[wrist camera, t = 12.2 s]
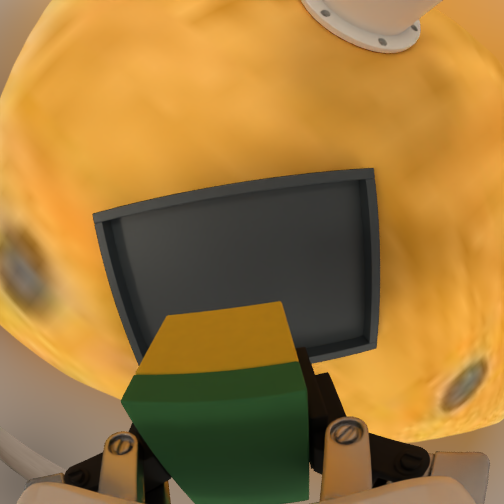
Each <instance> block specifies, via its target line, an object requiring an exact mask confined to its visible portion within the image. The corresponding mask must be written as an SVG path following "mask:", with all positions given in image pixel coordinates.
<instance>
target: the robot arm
mask: <svg viewBox="0 0 504 504" xmlns="http://www.w3.org/2000/svg"><path fill="white" fill-rule="evenodd" d="M301 1H302V3H303V5H304V6H305V8H306V9H307V11H308V12H309V13H310V14H311V15H312V16H313V18H314V19H315V20H317V21H318V22H319V23H320V24H321V25H322V26H324V27H325V28H326V29H328V30H329V31H331V32H332V33H333V34H335V35H337V36H338V37H340V38H342V39H344V40H346V41H347V42H350V43H352V44H354V45H356V46H359V47H361V48H365V49H368V50H371V51H376V52H381V53H397V52H402V51H404V50H406V49H408V48H410V47H411V46H412V45H413V44H415V43H416V41H417V40H418V38H419V36H420V31H421V30H420V21H419V18H421V17H422V16H423V15H425V14H426V13H427V12H428V11H430V10H431V9H432V8H433V7H435V6H436V5H437V4H439V3H440V2H441V1H443V0H301ZM295 350H296V353H297V357H298V360H299V363H300V367H301V370H302V374H303V377H304V381H305V384H306V388H307V393H308V421H309V462H310V465H311V469H312V468H313V469H314V471H315V472H317V473H320V474H322V483H321V493H320V502H316V503H311V504H484V501H485V495H486V489H487V484H488V475H489V467H490V462H489V458H488V457H487V455H485V454H484V453H481V452H438V451H437V452H435V454H430V453H428V452H427V451H426V450H425V449H423V448H421V447H418V446H414V445H410V444H406V443H402V442H399V441H395V440H391V439H388V438H384V437H381V436H378V435H374V434H371V433H368V428H367V425H366V424H365V422H364V421H362V420H361V419H359V418H356V417H346V414H345V412H344V409H343V407H342V404H341V402H340V399H339V397H338V394H337V392H336V389H335V387H334V384H333V382H332V380H331V377H330V375H329V373H328V372H327V373H323V374H318V375H315V374H314V371H313V368H312V365H311V362H310V359H309V356H308V353H307V350H306V348H305V347H299V348H295ZM169 479H171V476H170V474H169V473H168V472H167V471H166V469H165V468H164V467H163V465H162V464H161V463H160V461H159V460H158V459H157V457H156V456H155V455H154V453H153V452H152V450H151V449H150V448H149V446H148V445H147V443H146V442H145V440H144V439H143V437H142V436H141V434H140V433H139V431H138V430H137V428H136V427H135V425H134V424H133V423H132V425H131V428H130V430H129V432H124V431H123V432H117V433H115V434H112V435H111V436H110V437H109V438H108V439H107V440H106V442H105V445H104V451H103V453H100V454H98V455H96V456H94V457H92V458H90V459H88V460H85V461H83V462H81V463H78V464H76V465H74V466H72V467H70V468H69V469H68V470H67V471H66V473H65V475H64V474H63V473H58V474H54V475H49V476H44V477H39V478H34V479H30V480H29V481H27V482H26V484H25V487H24V492H23V494H22V495H21V497H20V498H19V500H18V502H17V503H16V504H171V503H170V493H169V484H168V480H169Z"/></svg>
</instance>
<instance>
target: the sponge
mask: <svg viewBox="0 0 504 504" xmlns="http://www.w3.org/2000/svg"><path fill="white" fill-rule="evenodd" d="M121 403H122V405H123V407H124V409H125V410H126V412H127V413H128V415H129V417H130V419H131V420H132V422H133V424H134V425H135V427H136V428H137V430H138V431H139V433H140V434H141V436H142V437H143V439H144V440H145V442H146V443H147V445H148V446H149V448H150V449H151V450H152V452H153V453H154V455H155V456H156V457H157V459H158V460H159V461H160V463H161V464H162V465H163V467H164V468H165V469H166V471H167V472H168V473H169V474H170V476H171V477H172V478H173V479H174V480H175V481H176V483H177V484H178V485H179V486H180V488H181V489H182V490H183V491H184V492H185V493H186V494H187V495H188V497H189V498H190V499H191V500H192V501H193V502H194V503H195V504H286V503H292V502H299V501H305V500H308V499H309V421H308V393H307V388H306V384H305V381H304V377H303V374H302V370H301V367H300V363H299V360H298V357H297V353H296V350H295V346H294V343H293V339H292V336H291V332H290V329H289V326H288V322H287V319H286V315H285V312H284V309H283V305H282V303H281V301H278V302H271V303H264V304H258V305H251V306H243V307H236V308H229V309H221V310H213V311H204V312H195V313H186V314H177V315H168V316H166V318H165V320H164V322H163V323H162V325H161V327H160V329H159V331H158V332H157V334H156V336H155V338H154V340H153V341H152V343H151V345H150V347H149V349H148V351H147V352H146V354H145V356H144V358H143V360H142V362H141V364H140V366H139V367H138V369H137V371H136V375H134V376H133V378H132V380H131V382H130V384H129V386H128V388H127V390H126V392H125V393H124V395H123V397H122V399H121Z"/></svg>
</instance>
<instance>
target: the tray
mask: <svg viewBox="0 0 504 504" xmlns="http://www.w3.org/2000/svg"><path fill="white" fill-rule="evenodd" d="M374 178H375V175H374V168H364V169H350V170H338V171H326V172H316V173H307V174H298V175H289V176H281V177H274V178H266V179H259V180H252V181H246V182H239V183H233V184H227V185H221V186H215V187H210V188H204V189H199V190H193V191H188V192H183V193H178V194H173V195H168V196H164V197H159V198H154V199H150V200H146V201H141V202H137V203H133V204H129V205H124V206H120V207H116V208H112V209H109V210H105V211H101V212H97V213H93V220H94V223H95V229H96V234H97V238H98V243H99V247H100V251H101V255H102V259H103V263H104V267H105V270H106V274H107V277H108V281H109V284H110V288H111V291H112V294H113V297H114V301H115V304H116V307H117V310H118V313H119V316H120V318H121V321H122V324H123V327H124V330H125V332H126V335H127V338H128V340H129V343H130V345H131V348H132V350H133V353H134V355H135V358H136V360H137V362H138V365H139V366H140V364H141V362H142V360H143V358H144V356H145V354H146V352H147V351H148V349H149V347H150V345H151V343H152V341H153V340H154V338H155V336H156V334H157V332H158V331H159V329H160V327H161V325H162V323H163V322H164V320H165V318H166V316H168V315H177V314H186V313H195V312H204V311H213V310H221V309H229V308H236V307H243V306H251V305H258V304H264V303H271V302H278V301H281V303H282V305H283V309H284V312H285V315H286V319H287V322H288V326H289V329H290V332H291V336H292V339H293V343H294V346H295V348H299V347H305V348H306V350H307V353H308V356H309V359H310V362H311V364H312V363H317V362H322V361H327V360H331V359H336V358H340V357H345V356H349V355H353V354H357V353H361V352H365V351H368V350H372V349H376V347H377V336H378V323H379V303H380V239H379V219H378V205H377V194H376V184H375V179H374Z"/></svg>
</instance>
